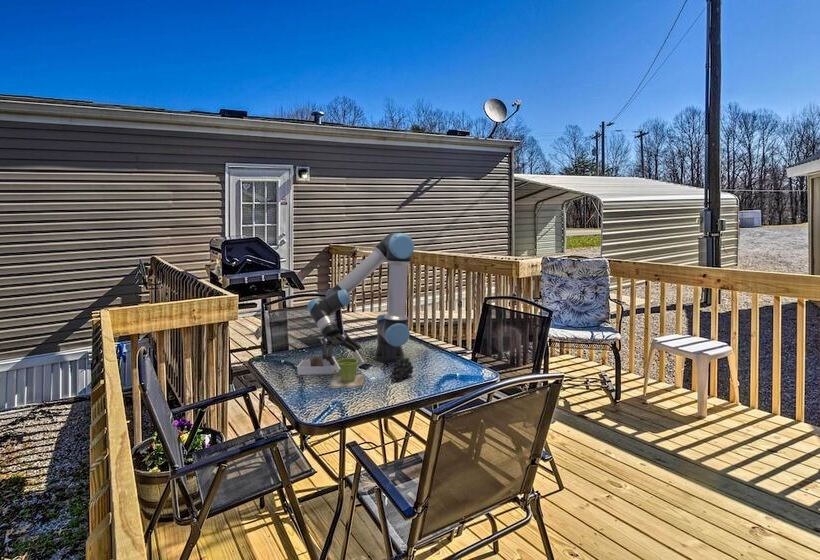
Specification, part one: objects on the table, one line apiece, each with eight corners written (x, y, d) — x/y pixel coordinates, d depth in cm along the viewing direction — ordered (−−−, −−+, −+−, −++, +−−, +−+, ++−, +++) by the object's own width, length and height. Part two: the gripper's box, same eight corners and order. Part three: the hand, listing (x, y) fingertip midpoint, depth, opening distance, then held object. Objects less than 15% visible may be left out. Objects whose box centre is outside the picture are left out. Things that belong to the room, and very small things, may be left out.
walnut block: (323, 368, 235) (322, 356, 234) (321, 371, 230) (321, 359, 229) (312, 368, 235) (312, 356, 234) (310, 372, 230) (310, 359, 229)
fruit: (394, 363, 212) (412, 354, 225) (379, 367, 217) (398, 357, 229) (400, 383, 212) (418, 372, 225) (385, 385, 217) (404, 375, 229)
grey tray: (335, 367, 239) (335, 358, 238) (332, 375, 227) (332, 366, 226) (302, 368, 238) (302, 359, 238) (297, 376, 226) (297, 367, 226)
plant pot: (355, 383, 212) (354, 364, 211) (334, 383, 213) (333, 363, 212) (361, 377, 221) (360, 358, 220) (341, 376, 222) (340, 357, 221)
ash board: (364, 376, 224) (364, 374, 224) (362, 387, 210) (362, 385, 210) (333, 377, 224) (333, 375, 224) (329, 388, 210) (329, 386, 210)
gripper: (346, 328, 234) (368, 365, 225) (302, 338, 216) (324, 378, 208) (352, 318, 229) (375, 356, 221) (308, 328, 212) (331, 368, 203)
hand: (350, 367), depth 214 cm, fingers open, 12 cm apart
